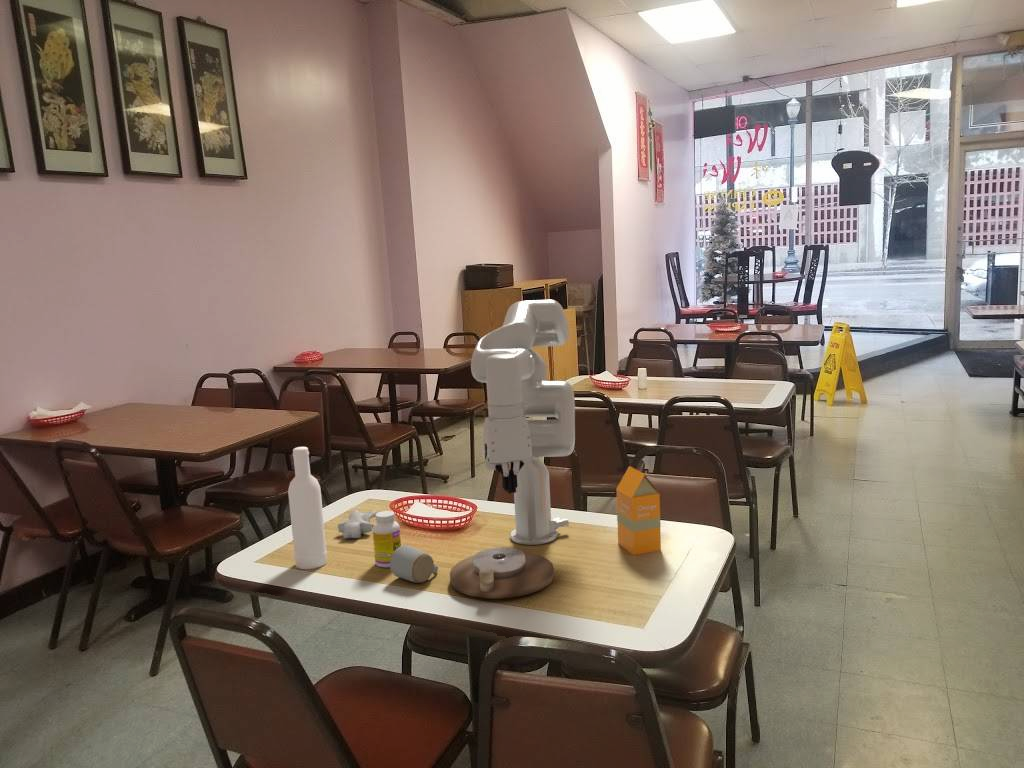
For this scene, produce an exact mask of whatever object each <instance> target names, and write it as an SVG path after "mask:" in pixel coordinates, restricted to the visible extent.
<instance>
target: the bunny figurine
mask: <svg viewBox="0 0 1024 768" xmlns="http://www.w3.org/2000/svg"><path fill="white" fill-rule="evenodd" d="M377 513H378V511H377V510H375V509H374V510H370V511H368V512H361V511H360V510H358V509H357V510H353V511H352V512H351V513H349V516H348V519H347V520H345V521H342V522H340V523H338V524H337V530H338V533H342V537H343V538H344V539H361V538H362V534H367V533H370V532H373V526H372V522H370V520H371V519H373V518H376V514H377Z"/></svg>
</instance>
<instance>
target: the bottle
mask: <svg viewBox="0 0 1024 768" xmlns="http://www.w3.org/2000/svg"><path fill="white" fill-rule="evenodd" d="M309 455H310V451H309V447H307V446H297V447H295V448H293V449H292V458H293V465H294V466H293V467H294V474H295V475H294V477H293V478H292V479H291V481H290V482H289V486H288V489H287V490H288V504H289V515H290V523H291V532H292V533H291V534H292V542H293V543H292V544H293V552H294V554H293V557H294V562H295V563H294V564H295V565H294V566H295V567H296V568H297V569H300V570H314V569H318V568H320V567H323V566H324V565H326V564H327V562H328V551H327V550H328V549H327V544H326V534H325V524H324V523H325V522H324V521H325V520H324V513H323V512H324V511H323V502H322V492H321V491H322V490H321V485H320V483H319V481H318V479H317V478H316V477H314V476H313V475H312V474H311V465H310V457H309Z"/></svg>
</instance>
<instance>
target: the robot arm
mask: <svg viewBox="0 0 1024 768" xmlns="http://www.w3.org/2000/svg"><path fill="white" fill-rule="evenodd" d="M569 324H570V323H569V321H568V318H567V315H566V313H565V310H564V308H563V306H562V304H560V303H559V301H557V300H555V299H536V300H535V299H533V300H520V301H516V302H515V303H512V304H511V305H510V306H509V308H508V309H507V311H506V315H505V316H504V320H503V323H502V326H501V327H498V328H496V329H494V330H492V331H491V332H489V333H487V334H485V335H484V336H482V337H481V338H480V339H479V340H478V341H477V343H476V345H475V348H474V351H473V352H472V356H471V359H470V360H471V361H470V370H471V375H472V377H473V378H474V379H475V380H476V381H477V382H479V383H486V394H487V411H488V412H487V413H488V417H485V418H484V422H483V432H482V433H483V434H482V437H483V438H482V454H483V455H482V456H483V459H484V460H485V463H484V467H485V469H487V470H492V471H497V472H498V473H499V474H500V475H501V482H502V489H503V490H504V491H505V493H507V494H510V495H511V494H512V493H513V497H514V498H513V500H514V517H515V518H514V519H515V528H514V529H512V531H511V532H510V537H509V538H510V540H511V541H513V542H514V543H516V544H519V545H527V546H535V545H544V544H548V543H550V542H554V541H555V540H556V539H557V538H558V536H559V535H558V533H559V532H558V529H559V528H564V527H568V526H569V523H570V522H569V520H568V519H567V518H563V519H561V518H560V517H557V518H552V511H551V509H552V508H551V507H552V506H551V489H550V473H549V470H548V468H547V466H546V465H545V463H544V462H543V460H542V459H541V458H542V457H545V458H546V457H548V458H551V457H568V456H570V455H571V454H573V451H574V449H575V446H576V445H575V442H576V441H575V440H576V424H575V423H576V420H575V419H576V410H575V409H576V402H575V393H574V389H573V386H572V385H571V384H570V383H569V382H568V381H564V380H549V381H548V380H547V378H548V377H547V376H548V367H547V364H546V362H545V360H544V358H543V357H541V355H540V354H539V353H537V351H535V350H534V349H533V348H534V347H538V348H539V347H558V346H559V347H560V346H564V345H565V344H566V343H567V342H568V340H569V337H570V325H569ZM527 418H556V419H527ZM508 464H509V467H508Z"/></svg>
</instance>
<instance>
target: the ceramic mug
mask: <svg viewBox="0 0 1024 768" xmlns="http://www.w3.org/2000/svg"><path fill="white" fill-rule="evenodd" d="M389 569H390V572H391V573H392V574H393V575H394V576H396V577H397V578H401V579H403V580H405V581H410V582H413V583H415V584H416V583H417V584H422V583H425V582H427V581H428V580H429V579H430V578H431V576H432V574H437V573H438V571H439V566H438V565H437V564H435V562H434V559H433V557H432V556H431V555H430V554H429V553H427V552H426V551H423V550H420V549H418V548H416V547H413V546H411V545H408V544H401V546H400V547H398V548H397V549H396V550H395V551H394V553H393V555H392V557H391V561H390V567H389Z"/></svg>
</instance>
